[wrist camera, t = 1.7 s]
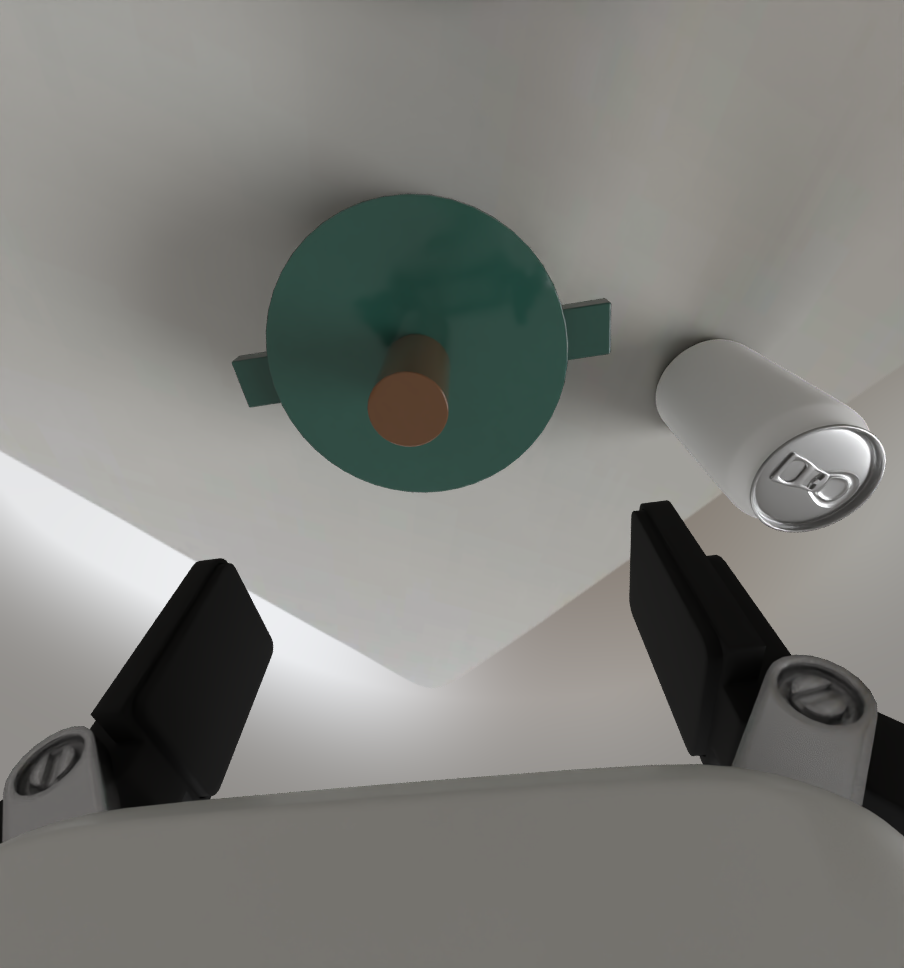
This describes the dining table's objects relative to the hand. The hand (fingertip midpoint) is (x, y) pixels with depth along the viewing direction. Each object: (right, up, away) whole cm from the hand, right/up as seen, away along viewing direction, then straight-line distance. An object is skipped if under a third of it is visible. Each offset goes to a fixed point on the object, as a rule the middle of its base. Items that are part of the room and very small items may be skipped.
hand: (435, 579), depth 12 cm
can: (+17, +9, +21) cm, 28 cm away
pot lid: (-1, +8, +11) cm, 14 cm away
